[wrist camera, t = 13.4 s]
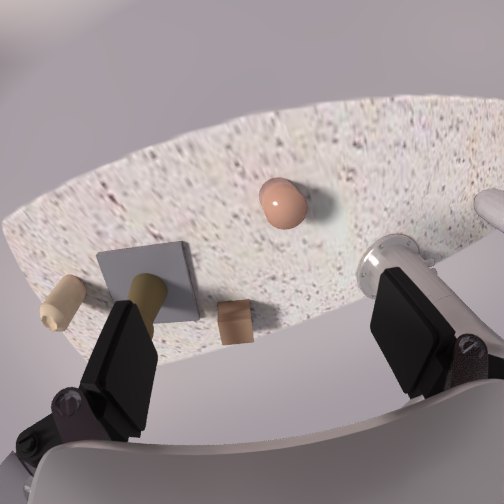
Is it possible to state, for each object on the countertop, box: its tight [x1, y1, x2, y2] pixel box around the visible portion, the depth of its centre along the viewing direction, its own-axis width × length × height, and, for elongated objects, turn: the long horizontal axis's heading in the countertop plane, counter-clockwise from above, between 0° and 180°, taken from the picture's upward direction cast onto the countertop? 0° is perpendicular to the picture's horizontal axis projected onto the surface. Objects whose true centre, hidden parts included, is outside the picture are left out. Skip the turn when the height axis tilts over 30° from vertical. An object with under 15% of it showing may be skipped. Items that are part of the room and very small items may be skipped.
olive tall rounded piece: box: [127, 273, 168, 340], centre depth 36 cm, size 6×6×11 cm
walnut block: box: [218, 299, 254, 345], centre depth 44 cm, size 5×5×5 cm
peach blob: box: [259, 178, 307, 230], centre depth 35 cm, size 5×5×6 cm
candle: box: [40, 275, 86, 332], centre depth 37 cm, size 6×6×10 cm
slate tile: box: [96, 241, 200, 324], centre depth 42 cm, size 14×14×1 cm
